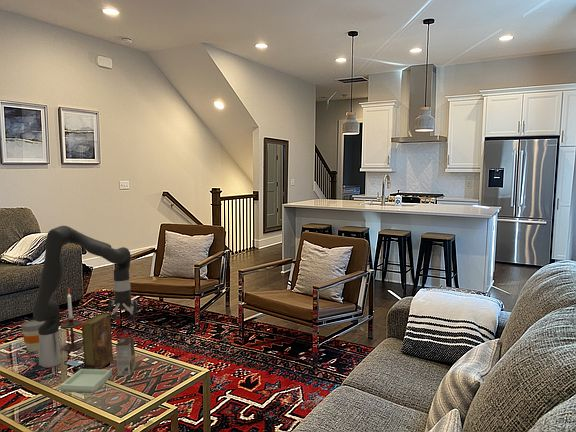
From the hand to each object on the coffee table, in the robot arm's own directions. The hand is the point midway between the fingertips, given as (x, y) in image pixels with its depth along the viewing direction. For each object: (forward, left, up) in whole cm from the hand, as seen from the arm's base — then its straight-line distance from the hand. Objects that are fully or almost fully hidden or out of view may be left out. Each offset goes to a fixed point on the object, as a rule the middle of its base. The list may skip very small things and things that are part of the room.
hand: (124, 320), depth 212 cm
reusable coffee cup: (-66, +23, -26) cm, 74 cm away
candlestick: (-45, +25, -26) cm, 58 cm away
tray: (-13, -13, -26) cm, 32 cm away
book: (-17, +5, -26) cm, 31 cm away
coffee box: (0, 0, -26) cm, 26 cm away
